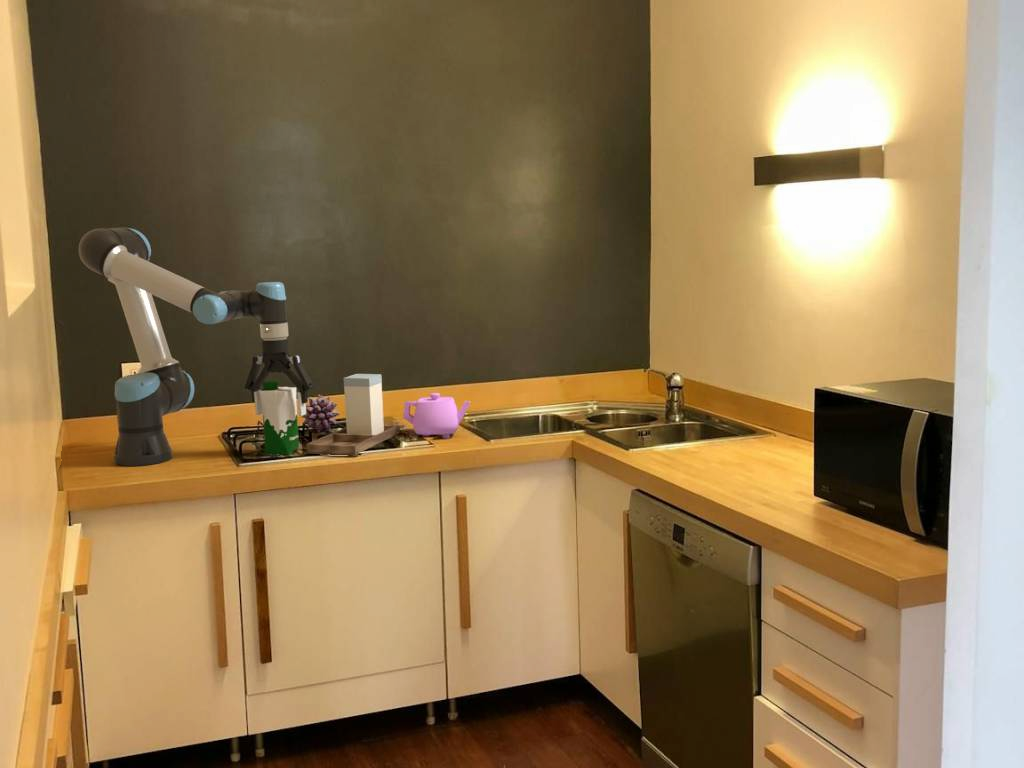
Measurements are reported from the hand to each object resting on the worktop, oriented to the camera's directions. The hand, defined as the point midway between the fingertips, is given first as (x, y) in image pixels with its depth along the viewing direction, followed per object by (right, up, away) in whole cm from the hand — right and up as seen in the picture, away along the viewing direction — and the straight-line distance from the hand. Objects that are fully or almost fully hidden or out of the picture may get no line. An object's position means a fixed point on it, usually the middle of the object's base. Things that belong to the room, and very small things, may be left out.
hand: (281, 414), depth 295 cm
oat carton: (+21, -7, +15) cm, 27 cm away
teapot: (+42, -7, +18) cm, 47 cm away
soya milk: (0, -11, +2) cm, 11 cm away
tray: (+19, -9, +9) cm, 23 cm away
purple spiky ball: (+6, -7, +27) cm, 28 cm away
